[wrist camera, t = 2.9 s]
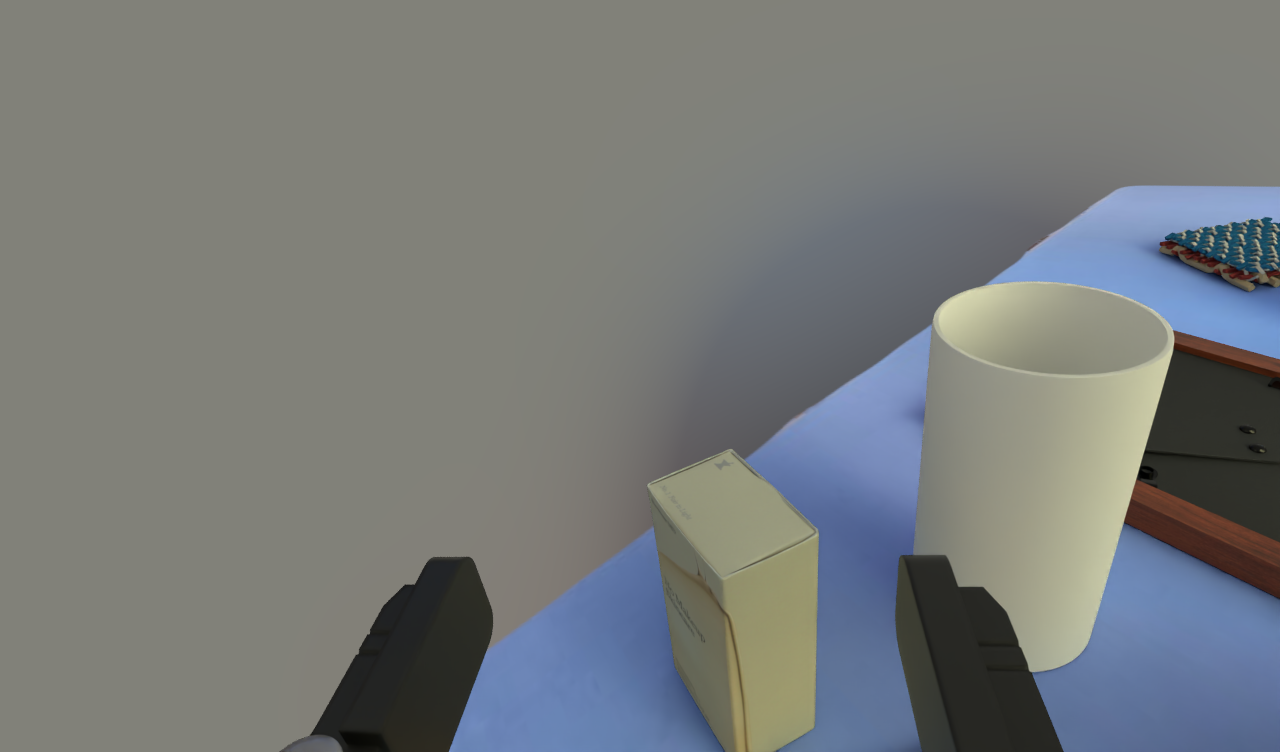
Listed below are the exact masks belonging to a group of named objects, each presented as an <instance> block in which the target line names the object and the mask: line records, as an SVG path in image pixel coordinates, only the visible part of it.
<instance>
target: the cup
mask: <svg viewBox="0 0 1280 752" xmlns="http://www.w3.org/2000/svg"><path fill="white" fill-rule="evenodd" d="M1173 347H1174V332H1173V330H1172V328H1171V326H1170V325H1169V323H1168V322H1167V321H1166V320H1165V319H1164V318H1163V317H1162V316H1161V315H1159V314H1158V313H1157V312H1155V311H1154V310H1152V309H1151V308H1149V307H1147V306H1145V305H1143V304H1141V303H1139V302H1137V301H1135V300H1132V299H1130V298H1127V297H1125V296H1122V295H1119V294H1115V293H1112V292H1108V291H1105V290H1101V289H1096V288H1091V287H1086V286H1080V285H1074V284H1066V283H1055V282H1010V283H1000V284H993V285H987V286H982V287H978V288H974V289H970V290H967V291H965V292H962V293H959V294H957V295H955V296H953V297H951V298H950V299H948V300H947V301H945V302H944V303H943V304H941V306H940V307H939V308H938V309H937V311H936V313H935V315H934V319H933V323H932V331H931V343H930V355H929V366H928V378H927V391H926V403H925V415H924V427H923V440H922V452H921V464H920V476H919V489H918V501H917V513H916V526H915V538H914V550H913V555H946V556H947V558H948V559H949V562H950V564H951V567H952V570H953V573H954V576H955V579H956V582H957V584H958V587H984V588H985V589H986V590H987V591H988V592H989V594H990V595H991V596H992V597H993V598H994V599H995V600H996V601H997V602H998V603H999V604H1000V605H1001V606H1002V607H1003V609H1004V610H1005V611H1006V612H1007V614H1008V616H1009V619H1010V621H1011V624H1012V626H1013V629H1014V631H1015V634H1016V636H1017V638H1018V641H1019V647H1021V648H1022V651H1023V653H1024V656H1025V658H1026V661H1027V663H1028V668H1029V671H1030V672H1040V671H1046V670H1051V669H1055V668H1058V667H1061V666H1063V665H1065V664H1067V663H1069V662H1071V661H1072V660H1074V659H1075V658H1076V657H1078V656H1079V655H1080V654H1081V653H1082V652H1083V650H1084V649H1085V648H1086V646H1087V644H1088V642H1089V640H1090V637H1091V633H1092V630H1093V626H1094V623H1095V619H1096V616H1097V613H1098V609H1099V606H1100V602H1101V599H1102V595H1103V592H1104V588H1105V585H1106V581H1107V578H1108V575H1109V571H1110V568H1111V564H1112V561H1113V557H1114V554H1115V550H1116V547H1117V544H1118V540H1119V537H1120V533H1121V530H1122V526H1123V523H1124V519H1125V516H1126V512H1127V509H1128V506H1129V502H1130V499H1131V495H1132V492H1133V488H1134V485H1135V481H1136V478H1137V475H1138V471H1139V468H1140V464H1141V461H1142V457H1143V454H1144V450H1145V447H1146V443H1147V440H1148V437H1149V433H1150V430H1151V426H1152V423H1153V419H1154V416H1155V412H1156V409H1157V406H1158V402H1159V399H1160V395H1161V392H1162V388H1163V385H1164V381H1165V378H1166V374H1167V371H1168V367H1169V364H1170V360H1171V357H1172V353H1173Z"/></svg>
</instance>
